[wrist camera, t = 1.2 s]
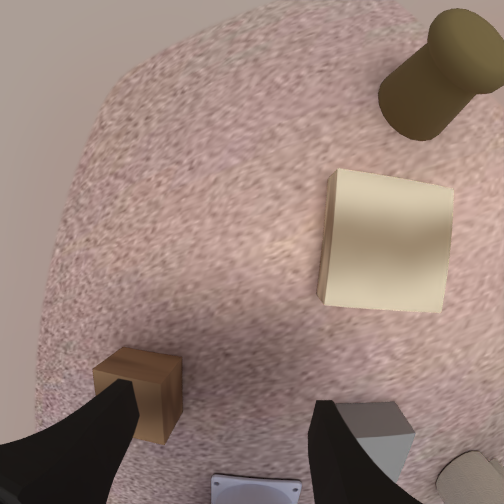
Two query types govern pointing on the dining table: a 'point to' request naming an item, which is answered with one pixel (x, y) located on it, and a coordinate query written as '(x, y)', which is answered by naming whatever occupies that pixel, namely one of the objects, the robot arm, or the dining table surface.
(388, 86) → the olive round-headed peg
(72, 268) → the dining table surface
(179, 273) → the dining table surface
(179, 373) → the walnut cube
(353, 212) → the sticky note pad
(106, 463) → the robot arm
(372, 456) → the slate cube
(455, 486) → the paper towel roll
